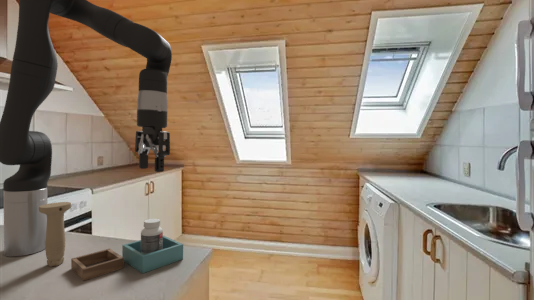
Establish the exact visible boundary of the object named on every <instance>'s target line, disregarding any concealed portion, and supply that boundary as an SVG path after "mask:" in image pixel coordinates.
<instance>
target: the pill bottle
mask: <svg viewBox="0 0 534 300" xmlns="http://www.w3.org/2000/svg"><path fill="white" fill-rule="evenodd" d="M143 227H144V228H142V229H141V231H140V240H141V253H142V254H144V255H146V254H149V253H152V252H156V251H159V250H162V249H163V236H164V235H163V234H164V230H163V228H162V227H161V219H159V218H148V219H145V220H144V221H143Z"/></svg>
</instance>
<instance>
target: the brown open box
mask: <svg viewBox="0 0 534 300" xmlns="http://www.w3.org/2000/svg"><path fill="white" fill-rule="evenodd" d="M70 259H71V260H70V262H71V263H70V264H71V270H72V271H73V272H74V273H75V274H76V276H78V277H79V278H80V279H81V280H82V281H83V282H84V281H87V280H90V279H94V278H97V277H101V276H103V275H106V274H110V273H112V272H115V271H119V270H121V269H124V266H125V261H124V258H123V257H122V255H120V254H118V253H117V252H116V251H114V250H112V249H111V248H107V249H102V250H99V251H95V252H92V253H87V254H82V255H80V256H76V257H72V258H70ZM96 263H97V264H96ZM93 264H94V265H93Z"/></svg>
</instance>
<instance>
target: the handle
mask: <svg viewBox="0 0 534 300" xmlns="http://www.w3.org/2000/svg"><path fill="white" fill-rule="evenodd" d="M71 207H72V202H68V201H60V202H52V203H47V204H45V205H41V206H39V212H41V213H43V214H46V215H47V227H46V240H45V245H46V246H45V249H44V250H45V256H46V264H47V266H49V267H55V266H57V267H58V266H60V265H61V264H63V263H64V260H65V257H64V256H65V251H66V233H65V217H64V216H65V213H66V212H67V211H68V210H70V209H72V208H71Z"/></svg>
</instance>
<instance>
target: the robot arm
mask: <svg viewBox="0 0 534 300" xmlns="http://www.w3.org/2000/svg"><path fill="white" fill-rule="evenodd" d="M50 14H52V15H55V16H57V17H62V18H65V19H67V20H71V21H73V22H77V23H79V24H81V25H84V26H86V27H88V28H90V29H91V30H93V31H94V32H96V33H98V34H100V35H101V36H103V37H105V38H106V39H108V40H111V41H112V42H114V43H116V44H118V45H120V46H122V47H124V48H129V49H130V50H131V51H134V52H135V53H137V54H138V55H140V56H142V57H143V58H145V59H146V65H145V68H143V69H141V70H140V72H139V74H138V95H137V101H136V105H137V106H136V126H137V127H139V128H142V129H141V130H136V132H135V143H134V145H135V146H134V152H135V153H137V155H138V156H139V157H138V163H139V164H138V167H139V169H142V170H143V169H148V168H149V152H150V150H151V151H153V154H154V171H155V173H162V172H164V171H165V157H167V156H170V154H171V143H170V142H171V138H170V137H171V135H170V134H171V133H170V132H169V131H163V129H166V128H168V107H169V106H168V104H169V102H168V77H169V73H170V69H171V65H172V59H173V54H172V52H173V51H172V47H171V44H170V42H169V41H168V40H166V39H165V38H164V37H163V36H162V35H161V34H159V33H158V32H157V31H155V30H153V29H152V28H149V27H147V26H146V25H143V24H140V23H137V22H134V21H133V20H132V19H129V18H127V17H125V16H123V15H121V14H119V13H117V12H116V11H113V10H111V9H109V8H105V7H102V6H98V5H96V4H94V3H92V2H90V1H89V0H19V1H18V21H17V32H16V38H15V40H16V41H15V45H14V46H15V48H14V51H13V57H12V62H11V68H10V72H9V73H10V76H9V84H8V88H7V89H8V90H7V94H6V99H5V104H4V109H3V111H2V115H1V117H0V118H1V119H0V163H1V164H2V165H4V166H5V165H6V166H19V168H18V170H17V171H16V172H15V173H14V174H12V175H11V176H9V177H8V178H5V180H3V183H2V185H3V188H2V189H3V255H4V256H5V257H20V256H21V257H22V256H28V255H33V254H36V253H39V252H41V251H43V250H45V246H46V245H45V240H46V227H47V215H46V214H43V213H41V212H39V206H41V205H45V204H48V182H49V180H50V179H51V173H52V161H53V146H52V141H51V140H50V137H49V136H48V135H47V134H46V133H44V132H42V131H37V130H30V128H31V123H32V121H33V120H32V119H33V117H34V114H35V113H36V111H37V109H39V107H40V106H41V105H42V103H43V102H45V101H46V99H48V97H49V96H50V94H51V93H52V91H53V90H54V88H55V86H56V85H55V84H56V79H57V71H58V67H59V65H58V64H59V63H58V58H57V53H56V50H55V48H54V45H53V42H52V38H51V35H50V30H49V29H50V28H49V20H50Z"/></svg>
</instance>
